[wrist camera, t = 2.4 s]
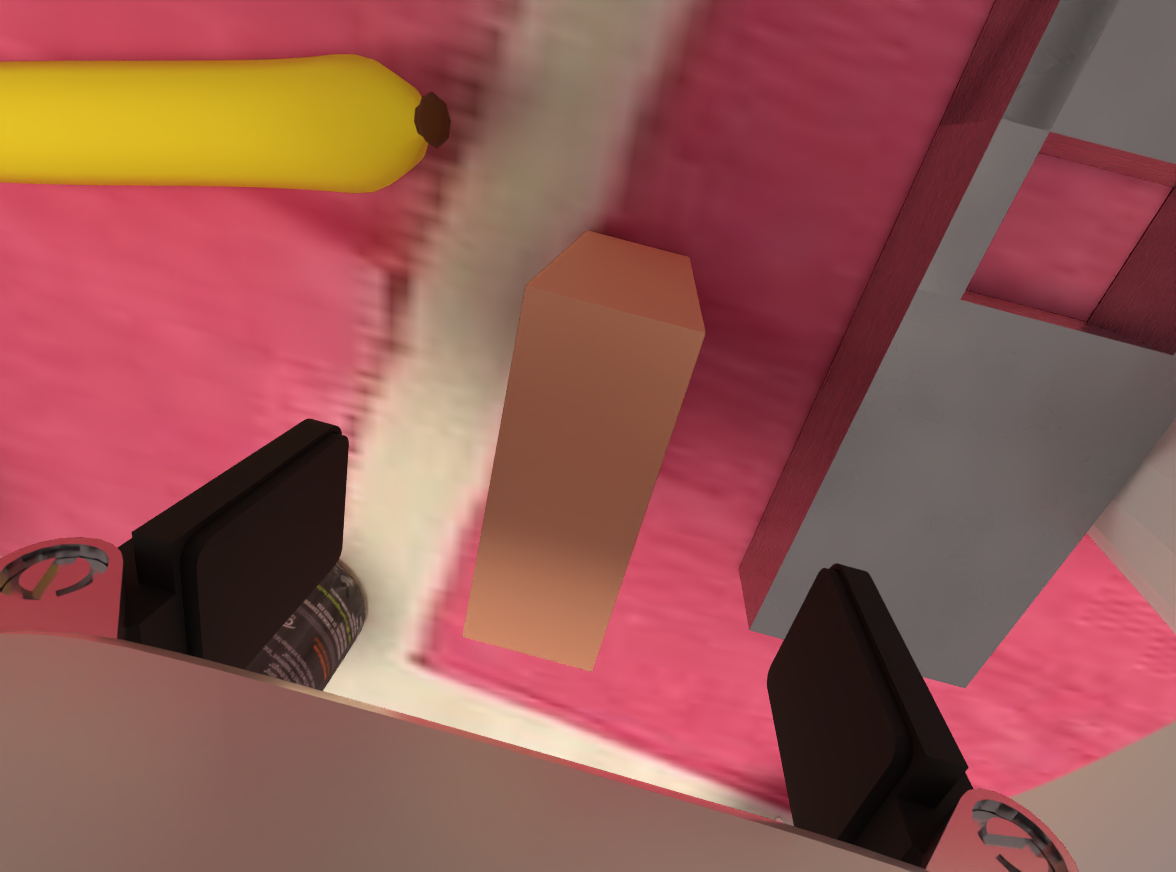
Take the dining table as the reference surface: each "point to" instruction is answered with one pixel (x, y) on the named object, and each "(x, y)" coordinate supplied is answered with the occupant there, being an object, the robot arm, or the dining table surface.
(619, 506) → the orange block
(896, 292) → the grey slotted block
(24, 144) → the banana
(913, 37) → the dining table surface
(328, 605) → the pill bottle
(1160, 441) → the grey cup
